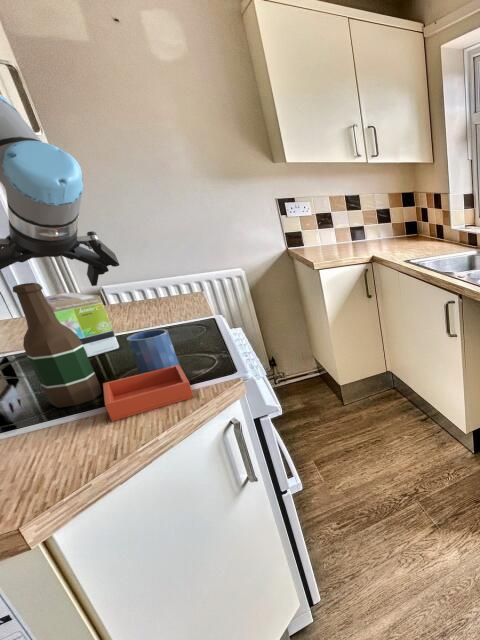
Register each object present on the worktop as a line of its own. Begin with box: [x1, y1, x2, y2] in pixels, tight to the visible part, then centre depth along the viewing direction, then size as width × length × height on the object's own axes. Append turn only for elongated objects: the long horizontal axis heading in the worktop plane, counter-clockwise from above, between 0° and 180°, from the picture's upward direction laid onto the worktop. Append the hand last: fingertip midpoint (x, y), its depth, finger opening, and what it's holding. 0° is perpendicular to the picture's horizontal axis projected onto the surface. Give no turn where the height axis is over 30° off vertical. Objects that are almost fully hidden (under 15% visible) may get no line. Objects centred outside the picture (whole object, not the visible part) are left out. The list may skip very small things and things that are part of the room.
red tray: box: [102, 364, 195, 422], centre depth 85 cm, size 13×13×4 cm
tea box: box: [45, 291, 120, 358], centre depth 109 cm, size 15×10×15 cm
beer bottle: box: [12, 282, 102, 409], centre depth 82 cm, size 8×8×24 cm
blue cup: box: [126, 328, 180, 374], centre depth 94 cm, size 7×7×10 cm
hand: (43, 284), depth 81 cm, fingers open, 13 cm apart
